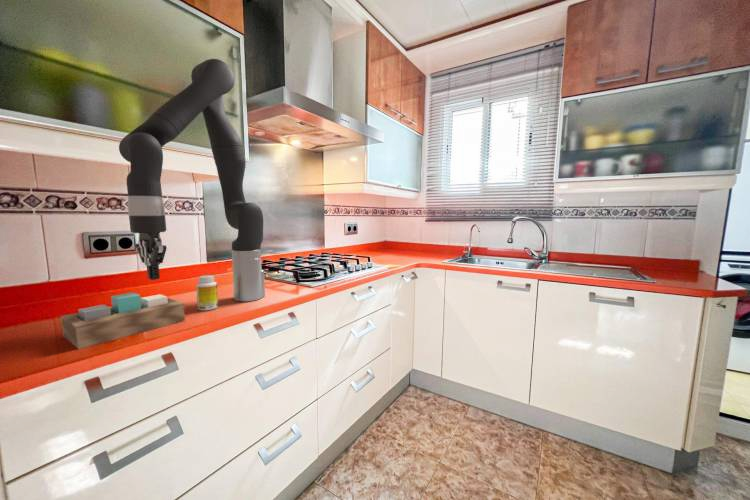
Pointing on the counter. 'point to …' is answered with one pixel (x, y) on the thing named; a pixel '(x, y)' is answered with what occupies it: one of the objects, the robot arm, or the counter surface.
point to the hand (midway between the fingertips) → (153, 279)
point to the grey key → (94, 312)
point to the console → (120, 324)
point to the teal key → (125, 302)
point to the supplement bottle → (207, 293)
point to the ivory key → (154, 300)
